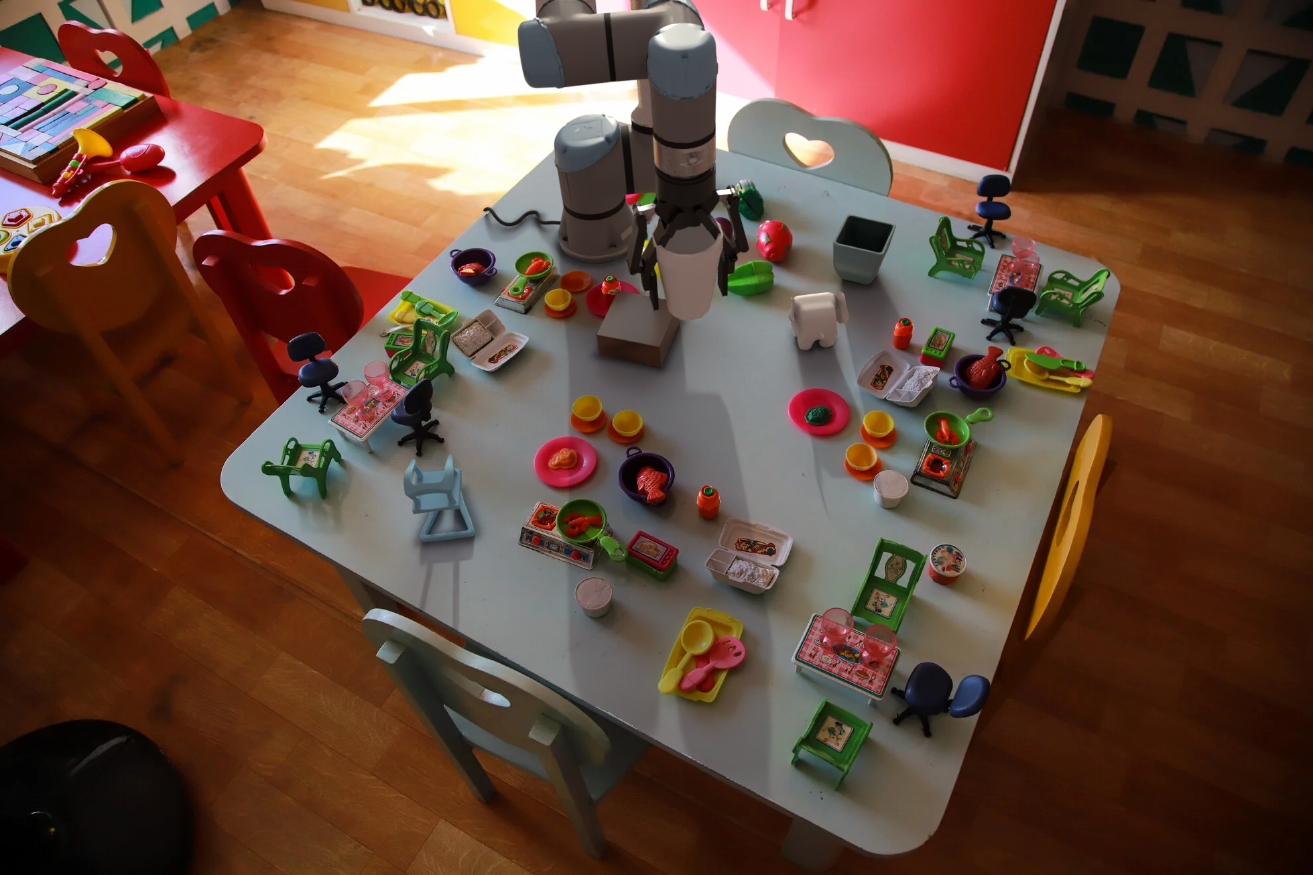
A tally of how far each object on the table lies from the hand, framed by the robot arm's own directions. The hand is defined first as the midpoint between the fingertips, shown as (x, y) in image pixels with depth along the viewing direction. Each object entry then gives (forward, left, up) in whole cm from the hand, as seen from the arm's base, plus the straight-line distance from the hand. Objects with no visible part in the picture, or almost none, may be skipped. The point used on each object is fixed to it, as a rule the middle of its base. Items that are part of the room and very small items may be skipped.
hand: (688, 296), depth 118 cm
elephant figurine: (+16, +17, -20) cm, 31 cm away
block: (-12, +8, -20) cm, 25 cm away
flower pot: (+22, +34, -20) cm, 45 cm away
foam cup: (0, 0, -2) cm, 2 cm away
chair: (-28, -33, -20) cm, 47 cm away
